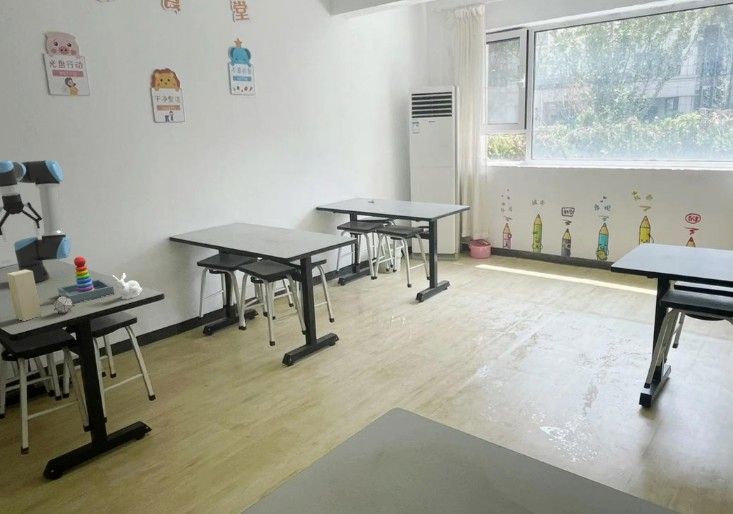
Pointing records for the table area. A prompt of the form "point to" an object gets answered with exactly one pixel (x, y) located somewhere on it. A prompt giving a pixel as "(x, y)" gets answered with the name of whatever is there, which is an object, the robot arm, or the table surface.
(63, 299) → the game die
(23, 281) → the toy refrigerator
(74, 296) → the tray
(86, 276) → the stacking toy
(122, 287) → the rabbit
